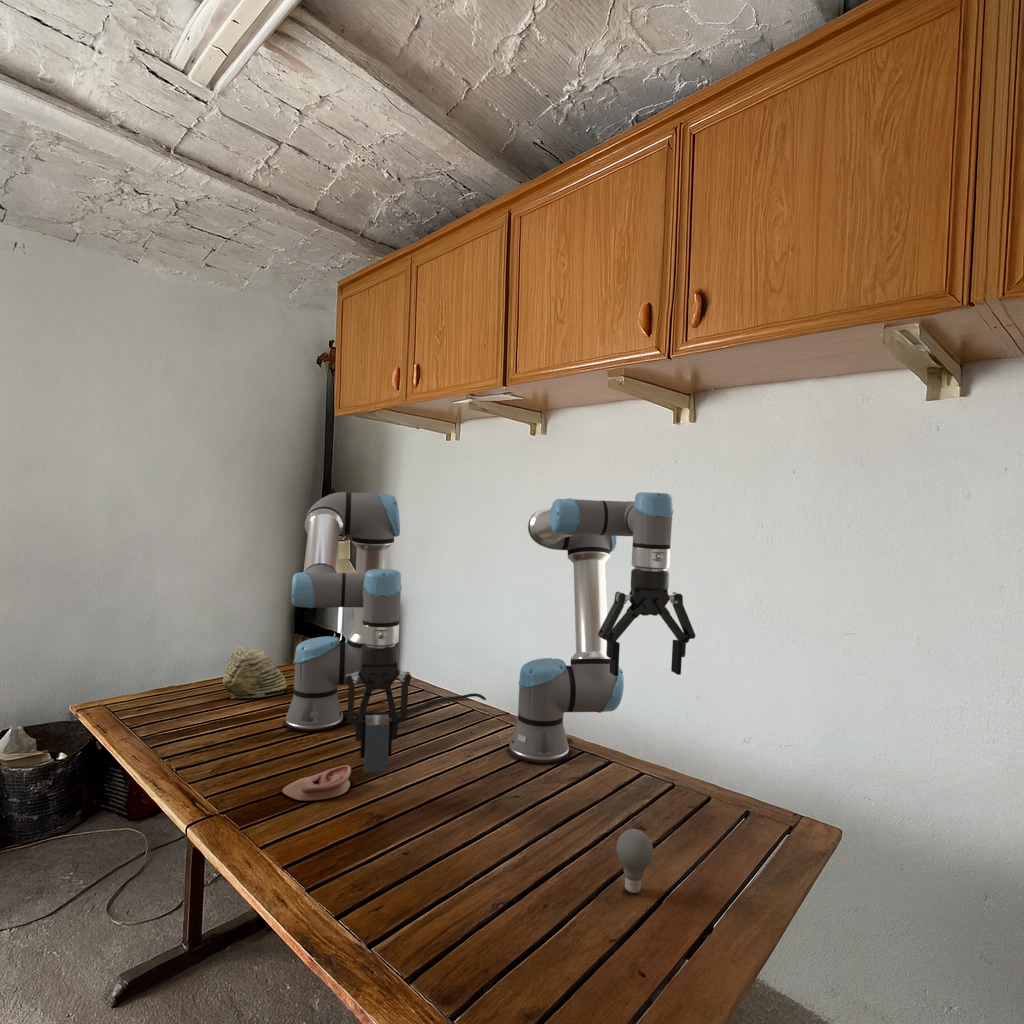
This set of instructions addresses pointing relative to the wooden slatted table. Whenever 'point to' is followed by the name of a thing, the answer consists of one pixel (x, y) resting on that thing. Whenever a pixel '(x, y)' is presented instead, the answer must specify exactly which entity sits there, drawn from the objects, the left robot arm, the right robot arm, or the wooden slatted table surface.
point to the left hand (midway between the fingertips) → (375, 754)
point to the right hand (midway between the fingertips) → (645, 673)
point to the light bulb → (634, 857)
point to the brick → (376, 743)
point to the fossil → (252, 674)
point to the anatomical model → (320, 785)
